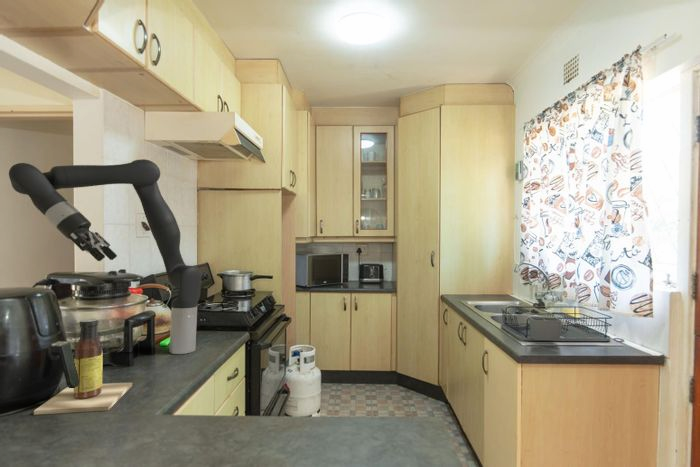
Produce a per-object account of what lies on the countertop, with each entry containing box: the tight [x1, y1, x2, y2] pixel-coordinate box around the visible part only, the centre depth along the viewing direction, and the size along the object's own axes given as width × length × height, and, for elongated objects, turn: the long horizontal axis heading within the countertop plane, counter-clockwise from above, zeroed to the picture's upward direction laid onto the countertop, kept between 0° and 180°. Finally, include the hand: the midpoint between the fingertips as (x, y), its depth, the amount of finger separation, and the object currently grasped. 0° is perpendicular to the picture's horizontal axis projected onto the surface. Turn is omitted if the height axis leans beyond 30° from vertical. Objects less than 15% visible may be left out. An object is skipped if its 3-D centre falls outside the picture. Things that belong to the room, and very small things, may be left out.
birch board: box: [33, 382, 133, 416], centre depth 97 cm, size 16×16×1 cm
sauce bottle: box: [73, 318, 104, 399], centre depth 97 cm, size 6×6×20 cm
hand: (108, 258), depth 112 cm, fingers open, 8 cm apart
